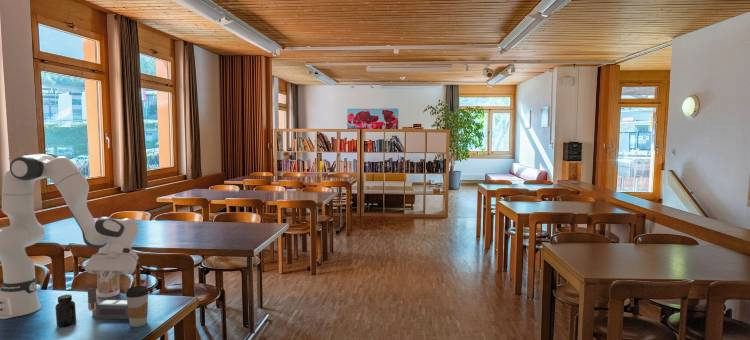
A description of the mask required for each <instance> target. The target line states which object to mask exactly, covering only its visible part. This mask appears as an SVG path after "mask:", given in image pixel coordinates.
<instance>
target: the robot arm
mask: <svg viewBox="0 0 750 340" xmlns="http://www.w3.org/2000/svg"><path fill="white" fill-rule="evenodd" d="M45 179H50V180H51V182H52V183H53V184H54V185H55V187H56V188H57V190H58V191H59V193H60V194H61V196H62V198H63V199H64V201H65V203H66V206H67V208H68V210H69V211H70V213H71V215H72V216H73V218H74V221H75V222H76V224H77V225H78V227H79V229H80V230H81V233H82V238H83V239H82V241H83V242H84V243H85V245H86V246H88V247H89V248H91V249H100V248H102V247H104V246H105V245H106V244H107V243H108V242H109V245H108V247H107V249H106V251H105V253H98V252H96V253H94V254H92V255H91V256H90V258H89V260H88V261H87V263H86V264H85V265H84V271H86V272H87V273H88V274H96V275H97V274H100V277H101V278H100V280H99V282H100V283H108V282H109V279H111V278H112V277H113V276H114V275H115V274H119V275H132V274H133V273H135V271H136V268H137V265H138V259H139V258H140V257H139V255H138V253H136V252H135V250H133V249H132V248H131V247H132V245H133V244H134V243H135V241H136V239H137V234H138V232H139V225H138V224H137V222H136V221H135V220H133V219H131V218H122V219H121V218H113V217H111V216H101V217H99V218H98V219H97V220H96V221H95V218H94V217H93V215H92V214H91V211H90V210H89V207H88V204H87V203H88V195H89V193H90V192H89V191H90V185H89V182H88V180H87V179H86V177H85V176H84V173H82V172H81V170H80V168H78V166H77V165H76V164H75V163H74V162H73V161H72V160H71V159H70V158H68V157H67V156H57V155H55V154H53V153H34V154H28V155H27V154H26V155H25V154H24V155H21V156H17V157H15V158H13V160H11V162H10V164H9V169H8V170H7V171H6V172H5V174H4V177H3V181H2V189H1V212H2V213H3V214H4V215H6V216H7V217H8V220H9V225H8V226H4V227H0V263H1V268H2V278H3V281H1V282H0V320H7V319H11V318H14V317H15V318H17V317H19V316H25V315H29V314H32V313H35V312H37V311H40V310H41V309H42V306H41V303H40V300H39V296H38V291H37V285H38V283H37V282H38V281H37V277H36V271H35V261H34V259H33V258H31V257H29V256H28V254H27V252H26V248H27V247H31V246H33V245H35V244H37V243H38V242H40V241H41V240H42V239H43V238H44V236H45V228H44V226H43V225H42V224H41V223H40V222H39V221H38V219H37V217H36V213H35V206H34V204H35V203H34V201H35V197H34V196H35V195H34V194H35V183H36V181H38V180H45ZM106 274H109V275H108V276H107V277H104V276H106Z"/></svg>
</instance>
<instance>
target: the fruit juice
mask: <svg viewBox="0 0 750 340" xmlns="http://www.w3.org/2000/svg"><path fill="white" fill-rule="evenodd" d="M108 245H109V242H108V243H107V244H106V245H105V246H104V247H102V248H98V249H99V250H98V252H97V253H105V251H106V249H107V247H108ZM108 275H109V274H106V276H104V277H107V276H108ZM100 278H101V277H100V274H96V290H98V296H99V297H98V298H101V299H105V298H112V297H115V296H118V295H119V294H120V293H121V291H120V274H115V275H114V276H113V277H112V278H111V279H109V282H108V283H100V282H99V280H100Z"/></svg>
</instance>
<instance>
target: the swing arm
mask: <svg viewBox="0 0 750 340" xmlns="http://www.w3.org/2000/svg"><path fill="white" fill-rule="evenodd" d="M99 298H100V297H99V296H98V290H97V286H96V287H95V286H94V287H93V286H92V287H89V288H87V305H88V307H87V308H88V311H89V312H90V311H91V312H92V310H96V308H97V301H98V302H99Z"/></svg>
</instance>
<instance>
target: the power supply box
mask: <svg viewBox="0 0 750 340" xmlns="http://www.w3.org/2000/svg"><path fill="white" fill-rule="evenodd" d="M91 312H92V314H91V315H92V316H91V317H93V318H95V317H96V319H98V320H99V319H101V320H102V319H104V320H105V319H106V320H107V319H108V320H111V319H112V320H129V315H128V307H127V299H121V300H120V299H103V300H102V301H101V302H99V300H98V301H97V308H96V310H91Z"/></svg>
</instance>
